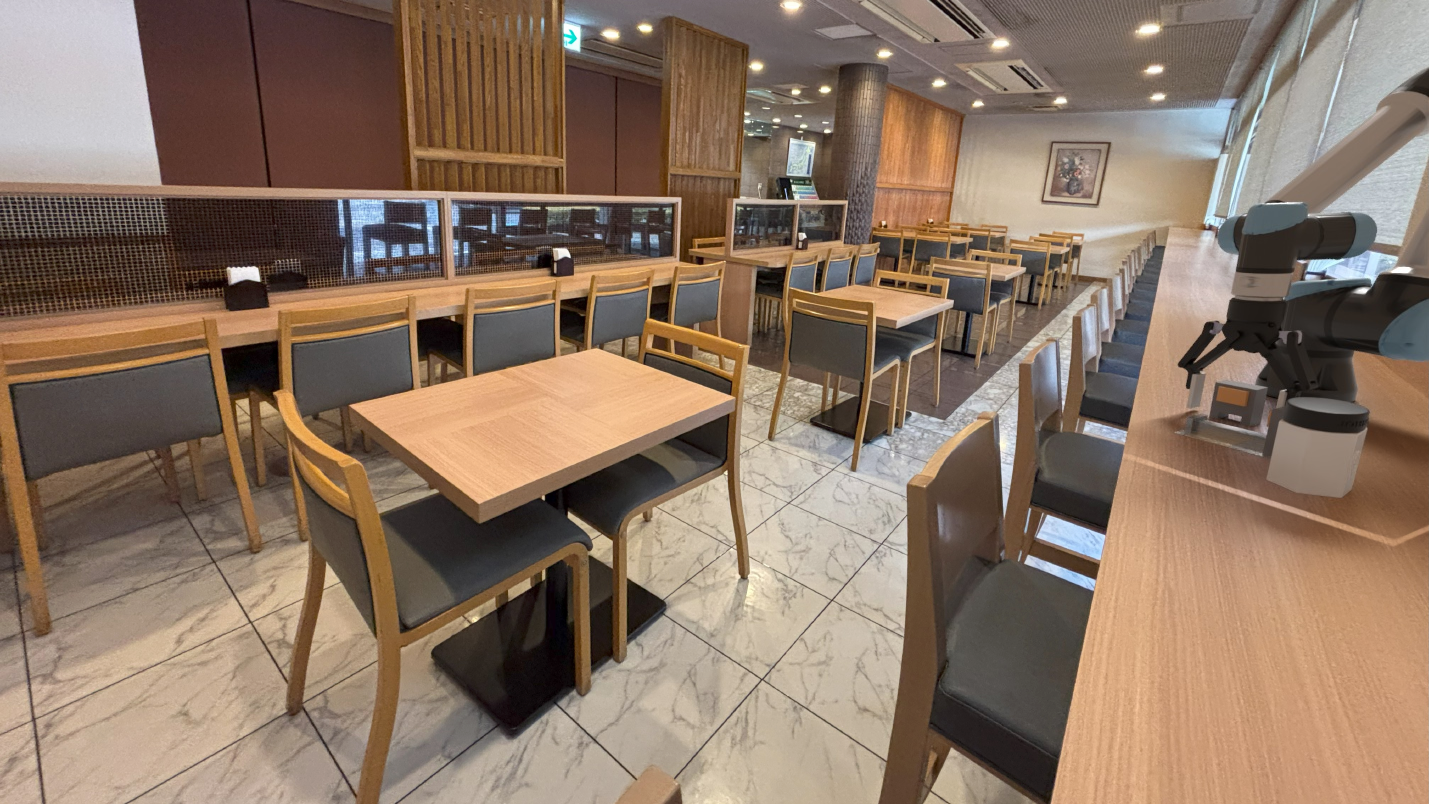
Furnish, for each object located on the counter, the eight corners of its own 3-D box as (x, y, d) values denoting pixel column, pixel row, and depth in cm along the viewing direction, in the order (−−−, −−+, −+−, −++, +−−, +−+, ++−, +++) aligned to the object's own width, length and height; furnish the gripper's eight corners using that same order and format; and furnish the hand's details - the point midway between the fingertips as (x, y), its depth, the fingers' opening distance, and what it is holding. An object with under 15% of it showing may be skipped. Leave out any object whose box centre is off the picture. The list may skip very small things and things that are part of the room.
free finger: (1219, 417, 115) (1226, 379, 113) (1259, 426, 110) (1268, 387, 108) (1206, 420, 114) (1213, 382, 112) (1246, 430, 108) (1254, 390, 106)
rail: (1206, 427, 111) (1209, 411, 110) (1352, 464, 93) (1357, 445, 92) (1173, 435, 107) (1176, 419, 107) (1318, 475, 90) (1322, 456, 89)
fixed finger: (1311, 452, 96) (1322, 408, 94) (1287, 460, 94) (1297, 414, 92) (1281, 445, 100) (1291, 402, 98) (1257, 452, 97) (1266, 408, 95)
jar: (1337, 507, 81) (1359, 419, 77) (1258, 487, 87) (1275, 405, 84) (1357, 489, 85) (1380, 405, 82) (1281, 471, 92) (1298, 393, 88)
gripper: (1168, 292, 115) (1149, 402, 121) (1340, 307, 93) (1307, 440, 99) (1193, 289, 118) (1174, 397, 124) (1367, 303, 96) (1333, 433, 102)
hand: (1233, 416), depth 112 cm, fingers open, 13 cm apart
